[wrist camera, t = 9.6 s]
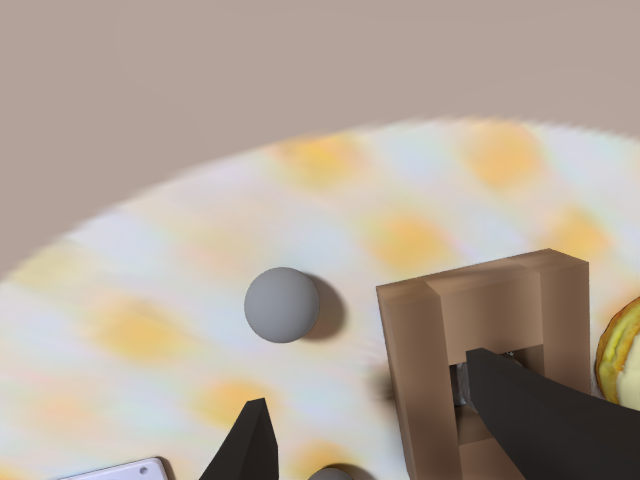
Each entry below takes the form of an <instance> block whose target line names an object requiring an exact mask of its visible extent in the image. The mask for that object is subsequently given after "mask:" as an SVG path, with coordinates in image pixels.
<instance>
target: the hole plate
mask: <svg viewBox="0 0 640 480" xmlns="http://www.w3.org/2000/svg"><path fill="white" fill-rule="evenodd" d="M376 291H377V297H378V303H379V309H380V315H381V320H382V326H383V332H384V338H385V344H386V350H387V356H388V362H389V368H390V373H391V379H392V385H393V391H394V397H395V403H396V409H397V415H398V421H399V426H400V432H401V438H402V444H403V450H404V456H405V462H406V468H407V472H408V475H409V477H410V480H526V479H525V478H524V476H523V475H522V474H521V472H520V471H519V470H518V468H517V467H516V466H515V464H514V463H513V462H512V461H511V459H510V458H509V457H508V455H507V454H506V453H505V451H504V450H503V449H502V447H501V446H500V445H499V443H498V442H497V441H496V439H495V438H494V437H493V435H492V434H491V433H490V431H489V430H488V429H487V427H486V426H485V424H484V422H483V421H482V419H481V417H480V416H479V414H478V413H476V412H475V411H474V410H473V409H471V408H470V407H469V406H468V404H465V405H461V406H457V407H454V404H453V395H452V387H451V379H450V371H449V365H454V364H458V363H462V362H467V361H466V352H465V351H469V350H473V349H477V348H485V349H487V350H489V351H491V352H494V353H496V354H501V353H505V352H510V351H513V357H514V358H515V359H516V360H517V361H518V362H519V363H520V364H521V365H522V366H523V367H524V368H527V369H529V370H531V371H533V372H535V373H537V374H540V375H542V376H544V377H546V378H549V379H551V380H553V381H555V382H558V383H560V384H563V385H565V386H568V387H570V388H572V389H575V390H578V391H580V392H583V393H585V394H588V395H591V393H590V313H589V262H586V261H583V260H581V259H578V258H575V257H572V256H569V255H567V254H564V253H561V252H558V251H555V250H552V249H550V248H548V249H544V250H539V251H535V252H530V253H526V254H521V255H516V256H512V257H507V258H503V259H498V260H494V261H489V262H485V263H480V264H476V265H471V266H467V267H462V268H458V269H453V270H449V271H444V272H440V273H435V274H430V275H426V276H421V277H417V278H412V279H408V280H403V281H399V282H394V283H390V284H385V285H381V286H376Z"/></svg>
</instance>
